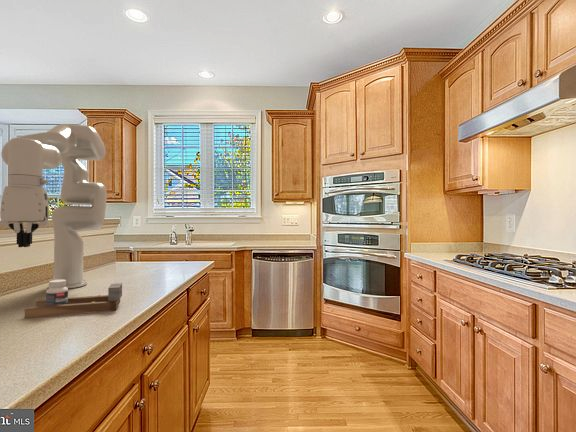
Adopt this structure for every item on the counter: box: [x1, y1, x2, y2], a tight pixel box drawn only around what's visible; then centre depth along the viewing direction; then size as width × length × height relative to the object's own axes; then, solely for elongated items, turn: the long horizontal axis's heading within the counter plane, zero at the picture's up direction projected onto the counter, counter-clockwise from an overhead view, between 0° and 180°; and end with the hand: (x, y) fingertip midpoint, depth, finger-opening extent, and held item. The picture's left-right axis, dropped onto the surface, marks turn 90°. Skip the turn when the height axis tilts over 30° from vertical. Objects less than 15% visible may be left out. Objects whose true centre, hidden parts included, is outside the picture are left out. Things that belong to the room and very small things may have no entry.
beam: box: [24, 282, 123, 319], centre depth 94 cm, size 10×23×6 cm, turn 111°
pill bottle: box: [45, 279, 69, 306], centre depth 92 cm, size 5×5×9 cm
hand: (24, 246), depth 89 cm, fingers closed
